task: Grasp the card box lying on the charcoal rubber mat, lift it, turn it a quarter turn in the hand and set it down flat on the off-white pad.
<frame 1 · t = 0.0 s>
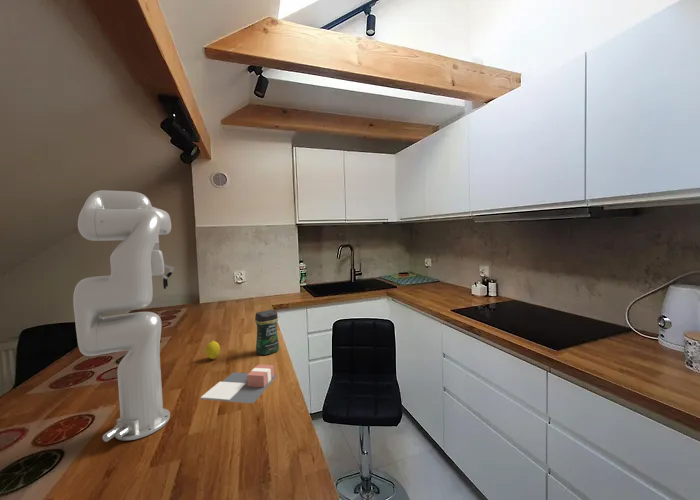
hand: (150, 289, 117), 31 cm above the countertop, tool pointing down, fingers open, 9 cm apart
mat: (242, 387, 99), on the countertop
lemon: (213, 359, 123), on the countertop
card box: (261, 381, 102), point 1 cm above the countertop, touching mat
coffee jar: (268, 352, 129), on the countertop
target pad: (224, 392, 96), resting on mat
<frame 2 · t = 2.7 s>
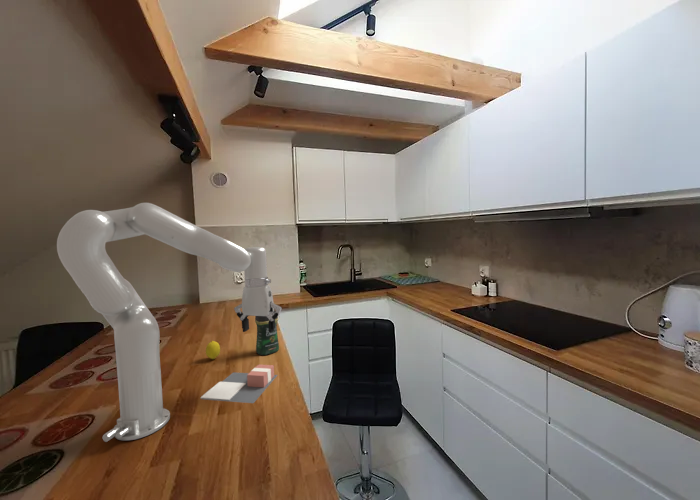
hand: (258, 331, 101), 18 cm above the countertop, tool pointing down, fingers open, 9 cm apart
nothing on the countertop moved.
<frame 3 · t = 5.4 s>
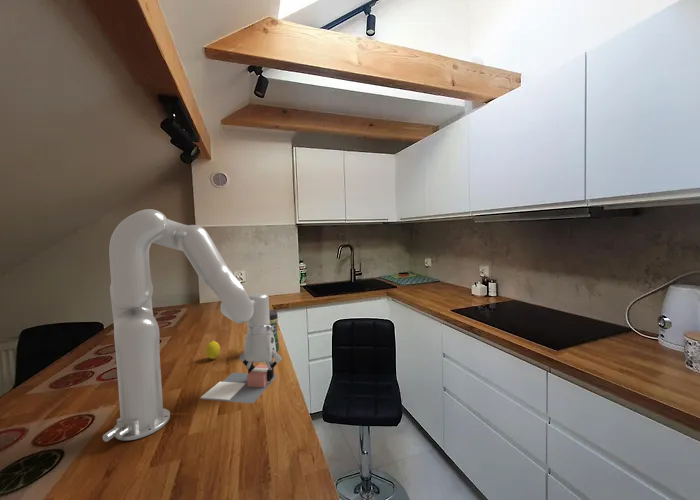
hand: (261, 378, 102), 1 cm above the countertop, tool pointing down, fingers closed on card box, 6 cm apart
card box: (261, 381, 102), point 1 cm above the countertop, touching gripper, mat
everything else where it was.
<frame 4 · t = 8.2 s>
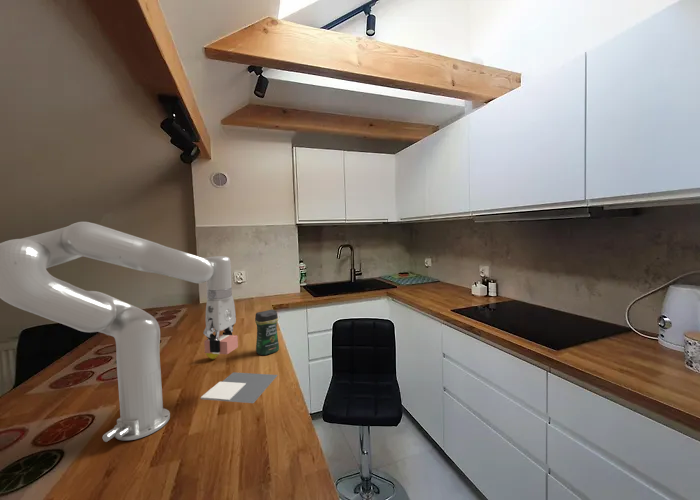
hand: (221, 347, 95), 15 cm above the countertop, tool pointing down, fingers closed on card box, 6 cm apart
card box: (221, 349, 95), point 14 cm above the countertop, touching gripper
everything else where it was.
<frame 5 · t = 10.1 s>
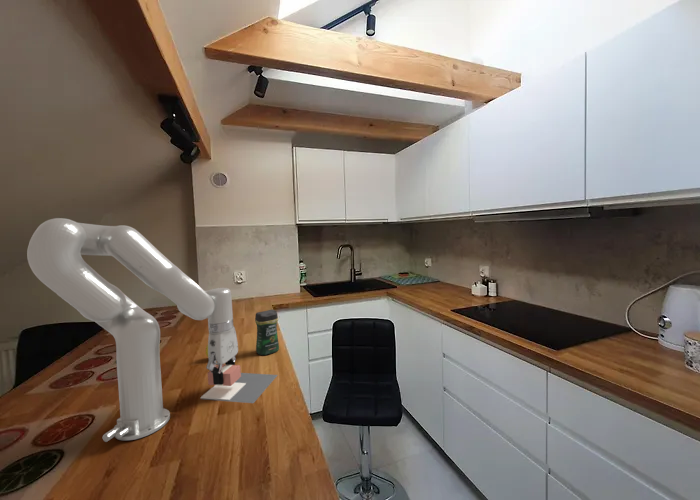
hand: (224, 378, 96), 5 cm above the countertop, tool pointing down, fingers closed on card box, 6 cm apart
card box: (225, 380, 96), point 4 cm above the countertop, touching gripper
everything else where it was.
when the fingers open (3 cm above the countertop, at t = 11.5 s): card box stays where it is, resting on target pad.
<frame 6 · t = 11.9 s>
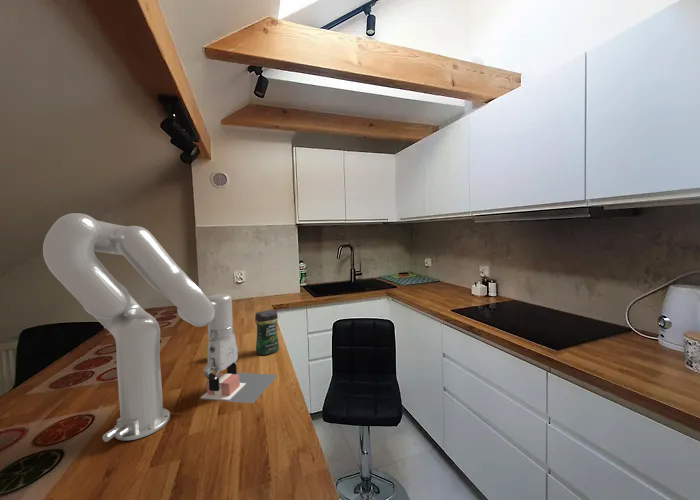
hand: (223, 382, 96), 3 cm above the countertop, tool pointing down, fingers open, 9 cm apart
card box: (223, 389, 96), point 1 cm above the countertop, touching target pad
everything else where it was.
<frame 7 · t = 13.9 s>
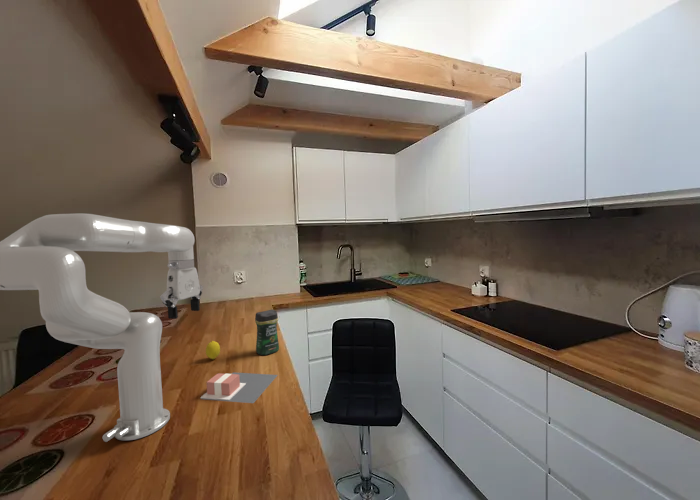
hand: (184, 314, 100), 25 cm above the countertop, tool pointing down, fingers open, 9 cm apart
nothing on the countertop moved.
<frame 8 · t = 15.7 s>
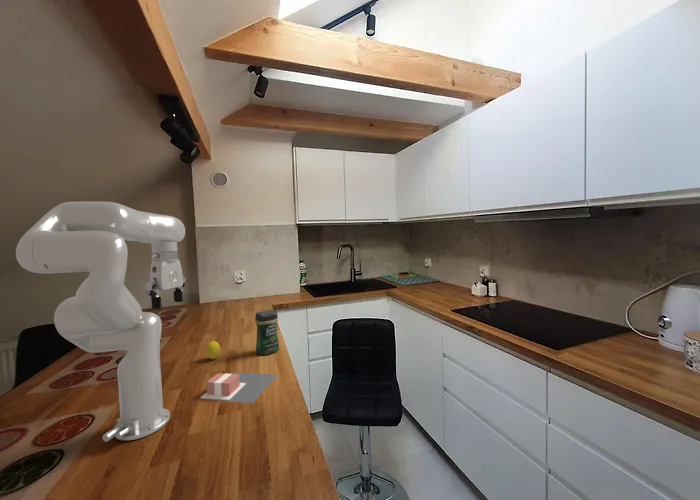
hand: (168, 305, 102), 28 cm above the countertop, tool pointing down, fingers open, 9 cm apart
nothing on the countertop moved.
at the end: card box 0.1 cm off-centre on the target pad, point 0.8 cm above the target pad's base; card box tilted 0°; the gripper is holding nothing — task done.
